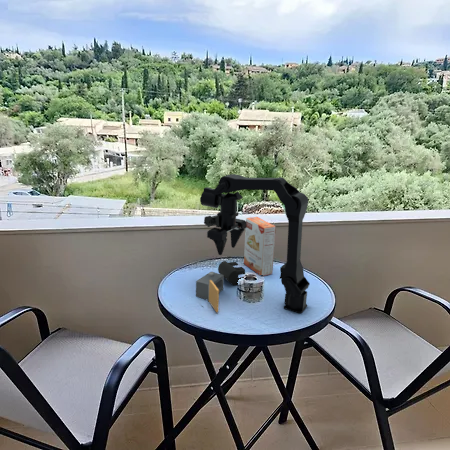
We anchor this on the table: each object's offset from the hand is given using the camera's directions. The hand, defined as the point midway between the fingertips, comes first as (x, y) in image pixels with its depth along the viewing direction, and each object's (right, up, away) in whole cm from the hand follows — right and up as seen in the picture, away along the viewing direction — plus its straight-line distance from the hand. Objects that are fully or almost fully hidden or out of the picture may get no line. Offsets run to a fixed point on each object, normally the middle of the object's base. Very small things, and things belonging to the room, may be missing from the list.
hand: (226, 251), depth 156 cm
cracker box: (+13, -9, +22) cm, 27 cm away
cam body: (-6, -15, -1) cm, 16 cm away
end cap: (+2, -12, +10) cm, 16 cm away
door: (-5, -18, -10) cm, 22 cm away
